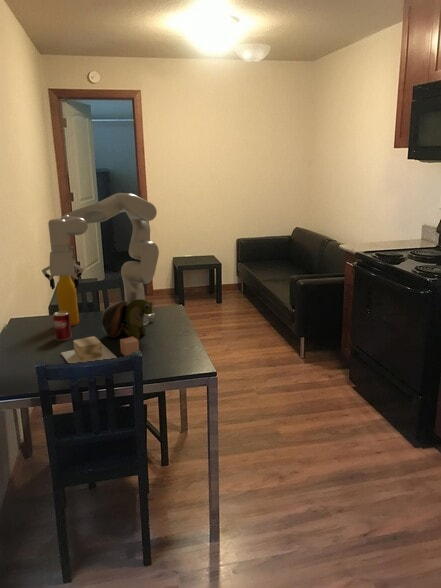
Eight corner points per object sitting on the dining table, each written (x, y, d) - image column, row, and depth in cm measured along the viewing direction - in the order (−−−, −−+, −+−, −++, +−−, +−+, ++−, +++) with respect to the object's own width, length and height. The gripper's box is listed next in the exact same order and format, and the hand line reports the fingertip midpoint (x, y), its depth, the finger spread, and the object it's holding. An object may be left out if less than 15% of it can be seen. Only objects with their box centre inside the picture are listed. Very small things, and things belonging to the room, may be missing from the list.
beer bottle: (56, 324, 239) (49, 268, 231) (70, 319, 246) (65, 264, 238) (69, 327, 234) (62, 270, 226) (83, 322, 242) (77, 266, 234)
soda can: (67, 341, 216) (64, 316, 213) (52, 340, 218) (49, 315, 215) (74, 335, 223) (72, 311, 220) (60, 334, 225) (57, 310, 221)
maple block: (95, 349, 205) (94, 336, 203) (102, 356, 198) (101, 342, 196) (74, 353, 200) (73, 340, 199) (80, 360, 193) (79, 347, 191)
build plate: (102, 345, 211) (102, 343, 211) (116, 358, 196) (116, 357, 196) (61, 354, 202) (61, 352, 202) (73, 369, 187) (72, 367, 187)
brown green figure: (118, 339, 231) (165, 328, 225) (105, 350, 216) (154, 338, 210) (105, 303, 228) (153, 290, 222) (91, 311, 213) (141, 298, 207)
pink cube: (134, 349, 206) (133, 336, 205) (139, 353, 202) (138, 340, 200) (120, 352, 203) (119, 339, 202) (126, 357, 198) (125, 343, 197)
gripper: (83, 246, 204) (87, 285, 209) (41, 247, 202) (46, 286, 207) (80, 249, 197) (84, 289, 201) (37, 251, 195) (42, 291, 200)
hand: (65, 288), depth 204 cm, fingers open, 9 cm apart
